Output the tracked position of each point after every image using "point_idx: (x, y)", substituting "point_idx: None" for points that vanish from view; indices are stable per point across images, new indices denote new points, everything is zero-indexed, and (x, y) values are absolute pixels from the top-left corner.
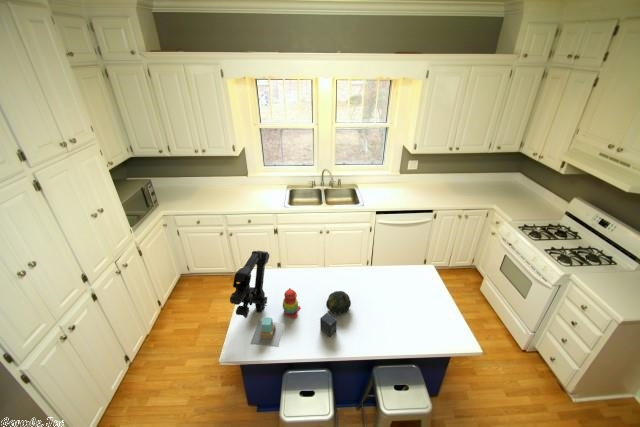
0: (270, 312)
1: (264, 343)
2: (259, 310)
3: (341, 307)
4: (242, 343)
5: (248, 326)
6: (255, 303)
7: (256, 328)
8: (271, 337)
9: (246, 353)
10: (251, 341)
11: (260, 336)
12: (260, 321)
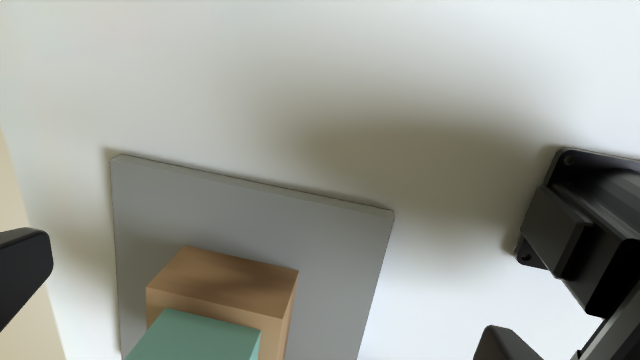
0: (507, 313)
1: (134, 276)
2: (537, 240)
3: None
4: (127, 73)
5: (340, 104)
6: (629, 298)
7: (290, 203)
8: None
9: (39, 129)
10: (137, 168)
11: (175, 256)
12: (381, 237)
